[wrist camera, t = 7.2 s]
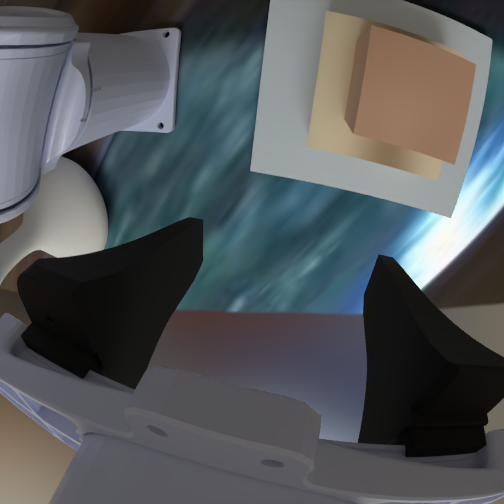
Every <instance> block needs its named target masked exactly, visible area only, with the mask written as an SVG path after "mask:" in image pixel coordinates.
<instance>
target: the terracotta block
mask: <svg viewBox="0 0 504 504" xmlns="http://www.w3.org/2000/svg"><path fill="white" fill-rule="evenodd" d="M475 70H476V64H474V63H472V62H470V61H468V60H466V59H464V58H462V57H459V56H457V55H455V54H453V53H450V52H448V51H446V50H443V49H441V48H438V47H436V46H433V45H431V44H428V43H426V42H423V41H420V40H418V39H415V38H412V37H409V36H406V35H403V34H400V33H397V32H393V31H390V30H387V29H383V28H380V27H376V26H372V25H371V26H370V27H369V28H368V29H367V30H366V31H365V33H364V34H363V35H362V36H361V37H360V38H359V39H358V40H357V42H356V48H355V55H354V62H353V69H352V75H351V81H350V87H349V93H348V99H347V105H346V110H345V116H344V120H345V122H346V123H347V125H348V126H349V128H350V130H351V131H352V133H353V134H355V135H359V136H363V137H367V138H371V139H375V140H378V141H382V142H386V143H389V144H393V145H396V146H399V147H403V148H406V149H409V150H412V151H416V152H419V153H422V154H425V155H428V156H431V157H434V158H437V159H439V160H442V161H445V162H448V163H451V164H453V165H455V162H456V158H457V155H458V151H459V147H460V144H461V140H462V136H463V132H464V128H465V123H466V119H467V114H468V110H469V105H470V100H471V94H472V89H473V83H474V76H475Z"/></svg>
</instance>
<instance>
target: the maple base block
mask: <svg viewBox="0 0 504 504" xmlns="http://www.w3.org/2000/svg"><path fill="white" fill-rule="evenodd" d="M371 25H372V26H376V27H380V28H383V29H387V30H390V31H393V32H397V33H400V34H403V35H406V36H409V37H412V38H415V39H418V40H420V41H423V42H426V43H428V44H431V45H433V46H436V47H438V48H441V49H443V50H446V51H448V52H450V53H453V54H455V55H457V56H459V57H462V58H465V54H463V53H461V52H459V51H457V50H454V49H452V48H450V47H448V46H445V45H443V44H440V43H438V42H435V41H433V40H430V39H428V38H425V37H422V36H420V35H417V34H414V33H411V32H408V31H405V30H402V29H399V28H396V27H392V26H389V25H386V24H382V23H379V22H375V21H371V20H367V19H363V18H359V17H355V16H350V15H345V14H341V13H335V12H330V11H326V15H325V23H324V31H323V39H322V46H321V54H320V61H319V68H318V75H317V82H316V88H315V95H314V102H313V108H312V114H311V121H310V127H309V133H308V139H307V145H306V147H308V148H313V149H318V150H323V151H328V152H332V153H337V154H341V155H346V156H350V157H354V158H358V159H362V160H366V161H370V162H374V163H378V164H382V165H386V166H389V167H393V168H396V169H400V170H403V171H407V172H410V173H414V174H417V175H420V176H423V177H426V178H430V179H433V180H436V181H438V177H439V174H440V171H441V167H442V164H443V161H442V160H439V159H437V158H434V157H431V156H428V155H425V154H422V153H419V152H416V151H412V150H409V149H406V148H403V147H399V146H396V145H393V144H389V143H386V142H382V141H378V140H375V139H371V138H367V137H363V136H359V135H355V134H353V133H352V131H351V130H350V128H349V126H348V125H347V123H346V122H345V120H344V116H345V110H346V105H347V99H348V93H349V87H350V81H351V75H352V69H353V62H354V55H355V48H356V42H357V40H358V39H359V38H360V37H361V36H362V35H363V34H364V33H365V31H366V30H367V29H368V28H369V27H370V26H371Z"/></svg>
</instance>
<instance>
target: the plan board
mask: <svg viewBox="0 0 504 504" xmlns="http://www.w3.org/2000/svg"><path fill="white" fill-rule="evenodd" d="M326 11H330V12H335V13H341V14H345V15H350V16H355V17H359V18H363V19H367V20H371V21H375V22H379V23H382V24H386V25H389V26H392V27H396V28H399V29H402V30H405V31H408V32H411V33H414V34H417V35H420V36H422V37H425V38H428V39H430V40H433V41H435V42H438V43H440V44H443V45H445V46H448V47H450V48H452V49H454V50H457V51H459V52H461V53H463V54H465V58H464V59H466V60H468V61H470V62H472V63H474V64H476V70H475V76H474V83H473V89H472V94H471V100H470V105H469V110H468V114H467V119H466V123H465V128H464V132H463V136H462V140H461V144H460V147H459V151H458V155H457V158H456V162H455V165H453V164H451V163H448V162H445V161H443V164H442V167H441V171H440V174H439V177H438V181H436V180H433V179H430V178H426V177H423V176H420V175H417V174H414V173H410V172H407V171H403V170H400V169H396V168H393V167H389V166H386V165H382V164H378V163H374V162H370V161H366V160H362V159H358V158H354V157H350V156H346V155H341V154H337V153H332V152H328V151H323V150H318V149H313V148H308V147H306V145H307V139H308V133H309V127H310V121H311V114H312V108H313V102H314V95H315V88H316V82H317V75H318V68H319V61H320V54H321V46H322V39H323V31H324V23H325V15H326ZM491 49H492V39H491V38H489V37H487V36H485V35H483V34H481V33H479V32H477V31H476V30H474V29H472V28H470V27H468V26H465V25H463V24H461V23H459V22H457V21H455V20H453V19H450V18H448V17H446V16H443V15H441V14H439V13H436V12H434V11H431V10H429V9H426V8H423V7H421V6H418V5H415V4H412V3H409V2H406V1H403V0H271V1H270V8H269V16H268V24H267V32H266V40H265V49H264V57H263V65H262V73H261V82H260V90H259V99H258V107H257V116H256V125H255V133H254V142H253V151H252V160H251V169H250V171H254V172H259V173H265V174H271V175H276V176H282V177H287V178H292V179H298V180H303V181H308V182H312V183H317V184H322V185H327V186H331V187H336V188H340V189H345V190H349V191H353V192H358V193H362V194H366V195H370V196H374V197H378V198H382V199H386V200H390V201H393V202H397V203H401V204H405V205H408V206H412V207H415V208H419V209H423V210H426V211H429V212H433V213H436V214H440V215H443V216H446V217H449V218H451V216H452V213H453V211H454V208H455V205H456V202H457V199H458V197H459V194H460V191H461V188H462V185H463V182H464V179H465V175H466V172H467V169H468V166H469V162H470V159H471V155H472V152H473V148H474V144H475V140H476V136H477V132H478V128H479V124H480V119H481V114H482V110H483V105H484V99H485V94H486V88H487V82H488V75H489V67H490V59H491Z"/></svg>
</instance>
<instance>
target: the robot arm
mask: <svg viewBox="0 0 504 504" xmlns="http://www.w3.org/2000/svg"><path fill="white" fill-rule="evenodd" d="M78 30H79V26H78V25H77V24H76V23H75V21H74V19H73V17H72V15H71V14H68V13H66V12H62V11H58V10H52V9H46V8H37V7H23V6H3V7H0V223H3V222H6V221H8V220H11V219H13V218H15V217H17V216H18V215H20V214H21V213H23V212H24V211H25V210H26V209H28V208H29V207H30V205H31V204H32V203H33V202H34V200H35V199H36V197H37V195H38V192H39V189H40V179H41V177H40V176H42V175H43V174H45V173H47V172H49V171H51V170H53V169H55V168H56V166H57V162H58V160H59V158H60V157H61V156H62V155H63V154H64V153H66V152H68V151H71V150H73V149H75V148H77V147H80V146H82V145H84V144H87V143H89V142H92V141H94V140H97V139H99V138H102V137H104V136H107V135H109V134H112V133H115V132H117V131H120V130H125V131H148V132H164V133H168V132H171V131H173V130H174V128H175V111H176V92H177V77H178V64H179V52H180V42H181V31H180V30H179V29H178V28H163V29H153V30H144V31H136V32H129V33H122V34H103V33H78ZM167 32H169V33H170V35H169V36H168V37H167V38H166V33H167ZM160 123H163V124H164V127H163V128H161V127H160ZM202 262H203V220H202V219H196V218H191V217H189V218H186V219H183V220H181V221H178V222H176V223H174V224H171V225H169V226H167V227H165V228H162V229H160V230H158V231H156V232H153V233H151V234H149V235H146V236H144V237H141V238H139V239H136V240H134V241H131V242H128V243H125V244H122V245H119V246H116V247H113V248H109V249H105V250H101V251H97V252H93V253H88V254H82V255H77V256H69V257H60V258H45V259H38V260H36V261H35V262H34V263H33V264H32V265H30V266H29V267H28V268H27V269H26V270H25V271H24V272H22V273H21V274H20V276H19V277H18V280H17V287H18V292H19V295H20V298H21V300H22V302H23V304H24V307H25V309H26V311H27V313H28V315H29V317H30V319H31V321H32V323H31V324H30V325H29V327H28V328H27V327H26V326H25V325H24V323H23V322H21V321H20V320H18V319H17V318H15V317H13V316H12V315H10V314H8V313H5V314H4V315H3V316H2V317H1V318H0V393H1V394H2V395H3V396H5V397H6V398H7V399H8V400H9V401H10V402H12V403H13V404H14V405H15V406H16V407H18V408H19V409H21V411H23V412H24V413H25V414H26V415H28V416H29V417H30V418H31V419H33V420H34V421H35V422H37V423H38V424H39V425H41V426H42V427H43V428H45V429H46V430H47V431H49V432H50V433H51V434H53V435H54V436H55V437H57V438H58V439H60V440H61V441H63V442H64V443H66V444H67V445H69V446H70V447H72V448H73V449H75V450H76V451H77V452H76V454H75V456H74V458H73V459H72V461H71V463H70V465H69V467H68V469H67V470H66V472H65V474H64V476H63V478H62V480H61V482H60V483H59V485H58V487H57V489H56V491H55V493H54V495H53V497H52V499H51V501H50V503H49V504H489V503H492V502H493V501H496V500H498V499H500V498H502V497H504V429H498V430H492V431H489V432H488V433H485V431H484V426H485V425H487V424H488V417H487V413H488V412H489V411H491V410H492V409H493V408H494V407H495V406H496V405H497V404H498V403H499V402H500V401H501V400H502V399H503V398H504V357H502V356H501V355H499V354H497V353H495V352H493V351H492V350H490V349H488V348H486V347H485V346H484V345H482V344H481V343H479V342H478V341H476V340H475V339H473V338H472V337H470V336H469V335H468V334H466V333H465V332H464V331H462V330H461V329H460V328H459V327H458V326H456V325H455V324H454V323H453V322H452V321H451V320H449V319H448V318H447V317H446V316H445V315H444V314H443V313H442V312H441V311H440V310H439V309H438V308H437V307H436V306H435V305H434V304H433V303H432V302H431V301H430V300H429V299H428V298H427V296H426V295H425V294H424V293H423V292H422V291H421V290H420V289H419V287H418V286H417V285H416V284H415V283H414V281H413V280H412V279H411V278H410V277H409V275H408V274H407V273H406V272H405V271H404V269H403V268H402V267H401V266H400V265H399V264H398V262H397V261H396V260H395V259H394V258H393V257H388V256H384V255H378V258H377V261H376V264H375V266H374V269H373V272H372V275H371V277H370V280H369V283H368V285H367V288H366V290H365V293H364V307H363V317H364V328H365V339H366V351H367V382H366V393H365V402H364V411H363V417H362V423H361V429H360V434H359V439H358V443H352V442H341V441H333V440H325V439H319V433H320V424H321V416H320V415H319V414H318V413H317V412H316V411H315V410H313V409H312V408H311V407H310V406H309V405H307V404H306V403H305V402H302V401H299V400H296V399H293V398H290V397H287V396H283V395H278V394H274V393H269V392H264V391H259V390H255V389H251V388H247V387H243V386H238V385H235V384H231V383H227V382H223V381H219V380H216V379H212V378H208V377H205V376H201V375H198V374H195V373H191V372H188V371H185V370H181V369H176V368H169V367H164V366H160V367H155V368H153V369H149V370H146V369H147V367H148V364H149V361H150V359H151V356H152V354H153V352H154V350H155V347H156V345H157V343H158V341H159V338H160V336H161V334H162V332H163V330H164V328H165V326H166V324H167V322H168V320H169V319H170V317H171V315H172V314H173V312H174V311H175V309H176V308H177V306H178V304H179V303H180V301H181V300H182V298H183V297H184V295H185V294H186V292H187V291H188V289H189V287H190V286H191V284H192V283H193V281H194V280H195V277H196V275H197V273H198V271H199V269H200V267H201V264H202Z"/></svg>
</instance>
